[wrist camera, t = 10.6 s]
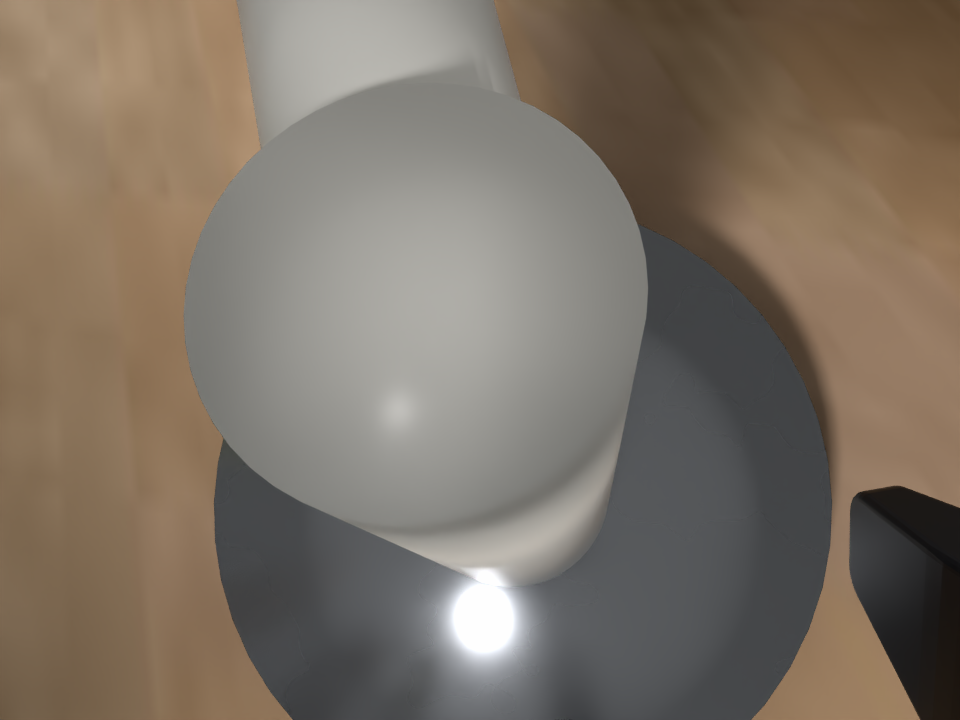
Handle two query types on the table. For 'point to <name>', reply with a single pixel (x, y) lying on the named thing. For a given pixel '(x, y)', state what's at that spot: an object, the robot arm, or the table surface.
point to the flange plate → (589, 582)
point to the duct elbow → (419, 290)
